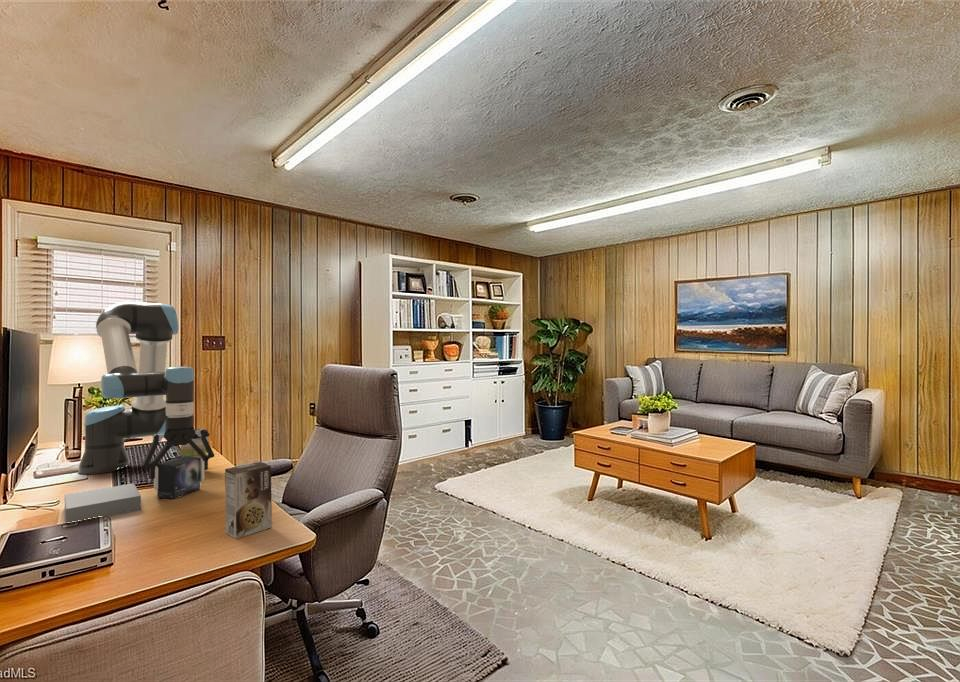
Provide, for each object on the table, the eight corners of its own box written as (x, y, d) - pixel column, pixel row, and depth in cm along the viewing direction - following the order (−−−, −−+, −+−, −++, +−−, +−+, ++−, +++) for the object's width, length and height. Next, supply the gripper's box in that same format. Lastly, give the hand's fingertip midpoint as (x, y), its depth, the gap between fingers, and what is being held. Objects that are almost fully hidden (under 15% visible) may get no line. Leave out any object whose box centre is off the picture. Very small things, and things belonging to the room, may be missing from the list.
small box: (174, 499, 141) (174, 465, 141) (156, 498, 143) (156, 464, 143) (201, 489, 152) (201, 456, 152) (184, 487, 153) (184, 455, 153)
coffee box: (260, 522, 124) (260, 461, 124) (272, 528, 119) (272, 464, 120) (224, 532, 116) (224, 468, 117) (235, 539, 112) (235, 472, 112)
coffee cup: (184, 477, 165) (185, 434, 166) (173, 472, 171) (173, 431, 172) (214, 471, 173) (214, 430, 173) (202, 467, 179) (202, 428, 179)
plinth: (64, 508, 134) (64, 494, 134) (133, 496, 145) (133, 483, 145) (65, 524, 122) (66, 509, 122) (140, 509, 133) (140, 495, 133)
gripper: (134, 421, 136) (134, 495, 136) (225, 413, 153) (224, 479, 153) (131, 418, 142) (131, 489, 142) (219, 410, 158) (218, 474, 158)
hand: (179, 484), depth 147 cm, fingers closed on small box, 12 cm apart
